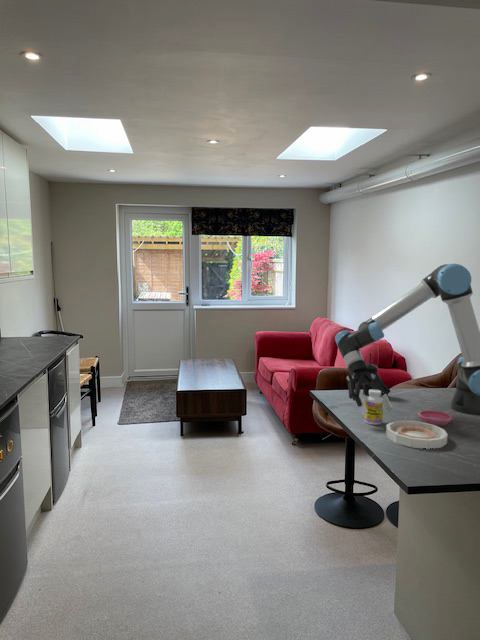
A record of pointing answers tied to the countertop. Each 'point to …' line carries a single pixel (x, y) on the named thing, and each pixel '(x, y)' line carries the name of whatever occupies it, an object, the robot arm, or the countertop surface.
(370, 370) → the drinking cup
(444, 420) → the saucer
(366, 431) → the countertop surface
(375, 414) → the supplement bottle
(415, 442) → the ceramic tray
